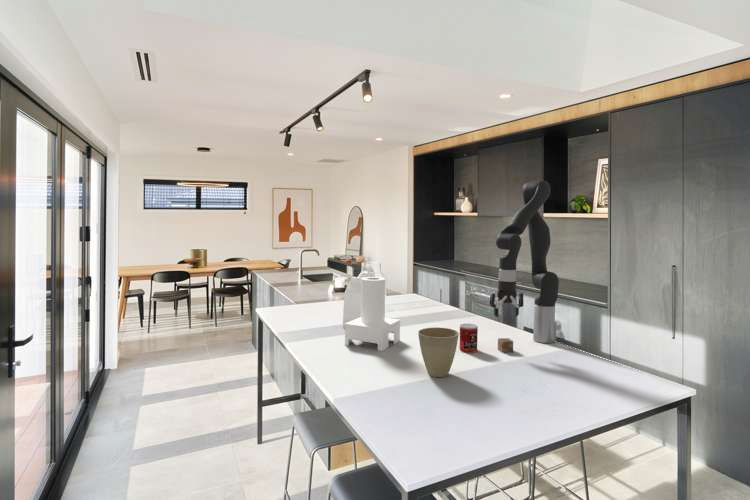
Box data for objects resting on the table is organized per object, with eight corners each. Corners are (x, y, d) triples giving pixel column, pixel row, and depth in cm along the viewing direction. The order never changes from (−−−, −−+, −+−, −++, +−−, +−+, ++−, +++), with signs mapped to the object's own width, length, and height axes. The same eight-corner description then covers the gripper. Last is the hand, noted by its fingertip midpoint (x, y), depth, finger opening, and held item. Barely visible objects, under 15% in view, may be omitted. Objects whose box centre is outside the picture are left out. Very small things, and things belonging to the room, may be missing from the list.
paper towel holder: (344, 345, 203) (344, 279, 200) (365, 335, 219) (365, 274, 217) (381, 351, 194) (382, 283, 191) (399, 340, 210) (400, 277, 208)
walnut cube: (508, 349, 198) (508, 338, 198) (513, 352, 193) (513, 341, 193) (497, 349, 198) (497, 338, 197) (501, 352, 193) (502, 341, 192)
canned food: (464, 353, 191) (465, 328, 190) (456, 348, 199) (456, 323, 198) (480, 352, 193) (481, 327, 192) (471, 346, 201) (472, 322, 200)
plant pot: (453, 367, 174) (454, 326, 173) (461, 381, 159) (462, 337, 158) (415, 367, 174) (415, 327, 172) (420, 381, 159) (420, 337, 158)
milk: (342, 327, 234) (342, 278, 232) (350, 322, 245) (350, 275, 243) (364, 329, 231) (364, 279, 228) (370, 324, 242) (371, 276, 239)
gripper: (519, 278, 197) (518, 314, 198) (488, 278, 196) (487, 314, 197) (526, 280, 190) (525, 318, 191) (494, 280, 189) (493, 318, 190)
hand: (506, 316), depth 194 cm, fingers open, 8 cm apart
